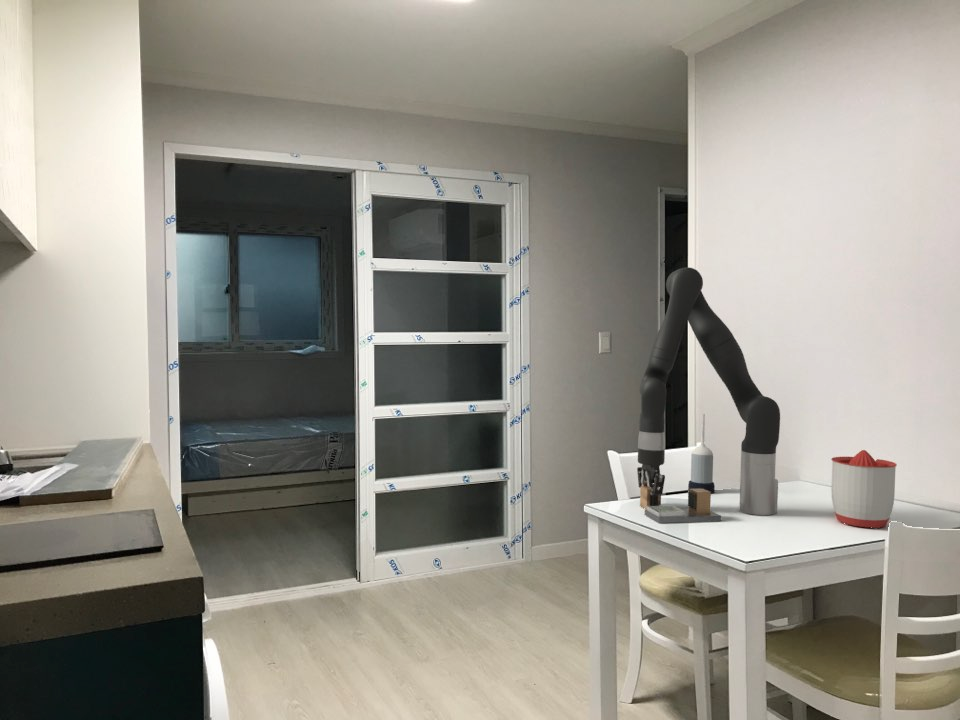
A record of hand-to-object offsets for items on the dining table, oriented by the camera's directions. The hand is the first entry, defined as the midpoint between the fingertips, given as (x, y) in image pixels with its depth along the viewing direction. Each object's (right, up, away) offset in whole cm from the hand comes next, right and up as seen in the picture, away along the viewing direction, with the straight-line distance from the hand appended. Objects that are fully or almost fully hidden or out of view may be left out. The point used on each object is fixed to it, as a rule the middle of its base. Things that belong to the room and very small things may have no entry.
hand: (649, 505), depth 208 cm
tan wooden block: (0, -1, 0) cm, 1 cm away
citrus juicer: (+55, -2, -12) cm, 56 cm away
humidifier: (+22, -1, +25) cm, 34 cm away
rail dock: (+6, -1, -11) cm, 13 cm away
